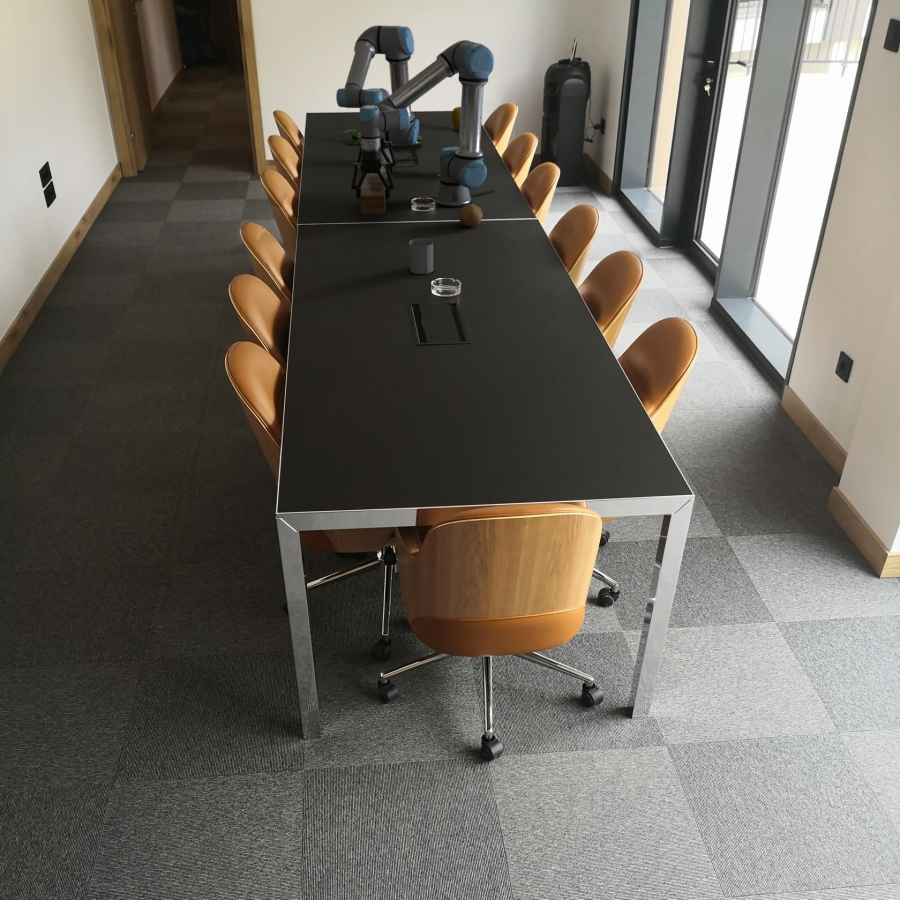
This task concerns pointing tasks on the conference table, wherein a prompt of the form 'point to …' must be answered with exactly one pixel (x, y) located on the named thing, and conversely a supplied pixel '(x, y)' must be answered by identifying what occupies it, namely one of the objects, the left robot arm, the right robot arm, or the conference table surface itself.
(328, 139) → the conference table surface
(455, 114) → the yellow piece
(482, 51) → the right robot arm
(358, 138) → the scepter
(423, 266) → the cup
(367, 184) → the wooden beam
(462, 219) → the potato
